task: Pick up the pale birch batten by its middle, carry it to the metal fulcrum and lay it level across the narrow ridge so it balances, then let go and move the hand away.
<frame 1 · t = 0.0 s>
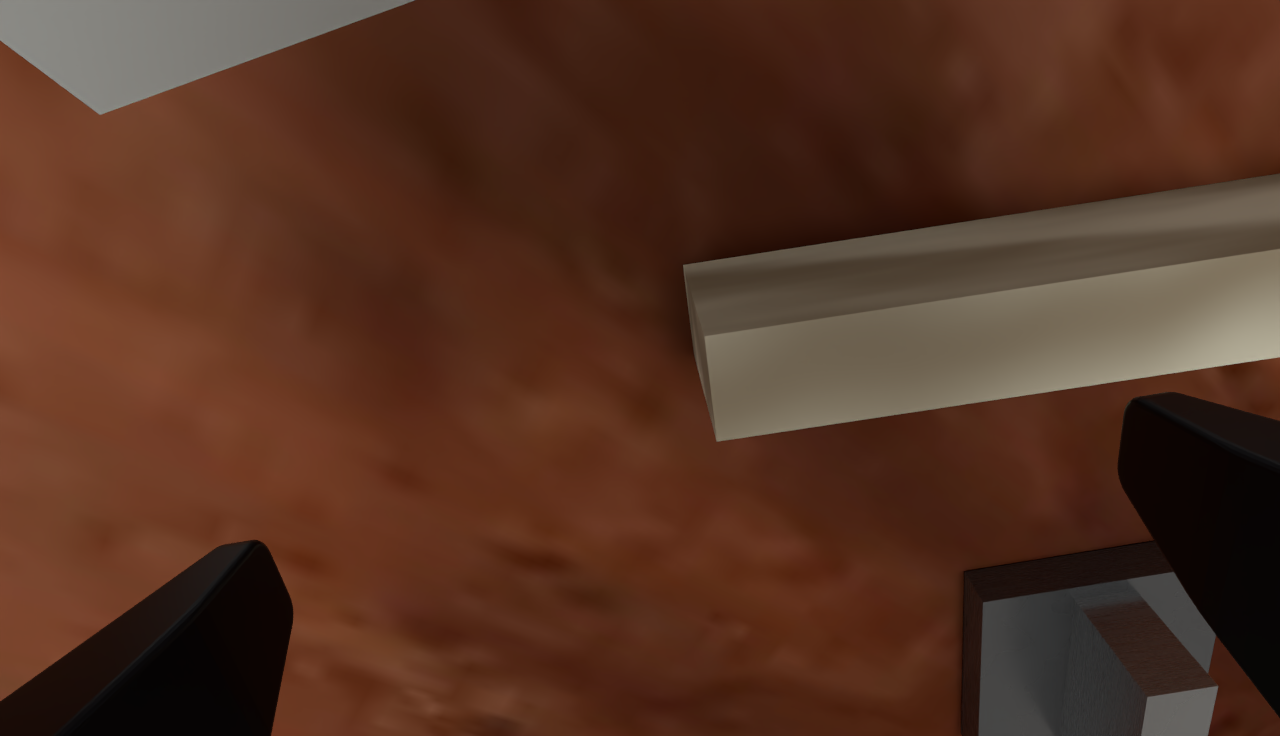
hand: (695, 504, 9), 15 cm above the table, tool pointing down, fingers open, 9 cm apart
fulcrum: (1073, 639, 30), on the table
batten: (1001, 260, 24), on the table
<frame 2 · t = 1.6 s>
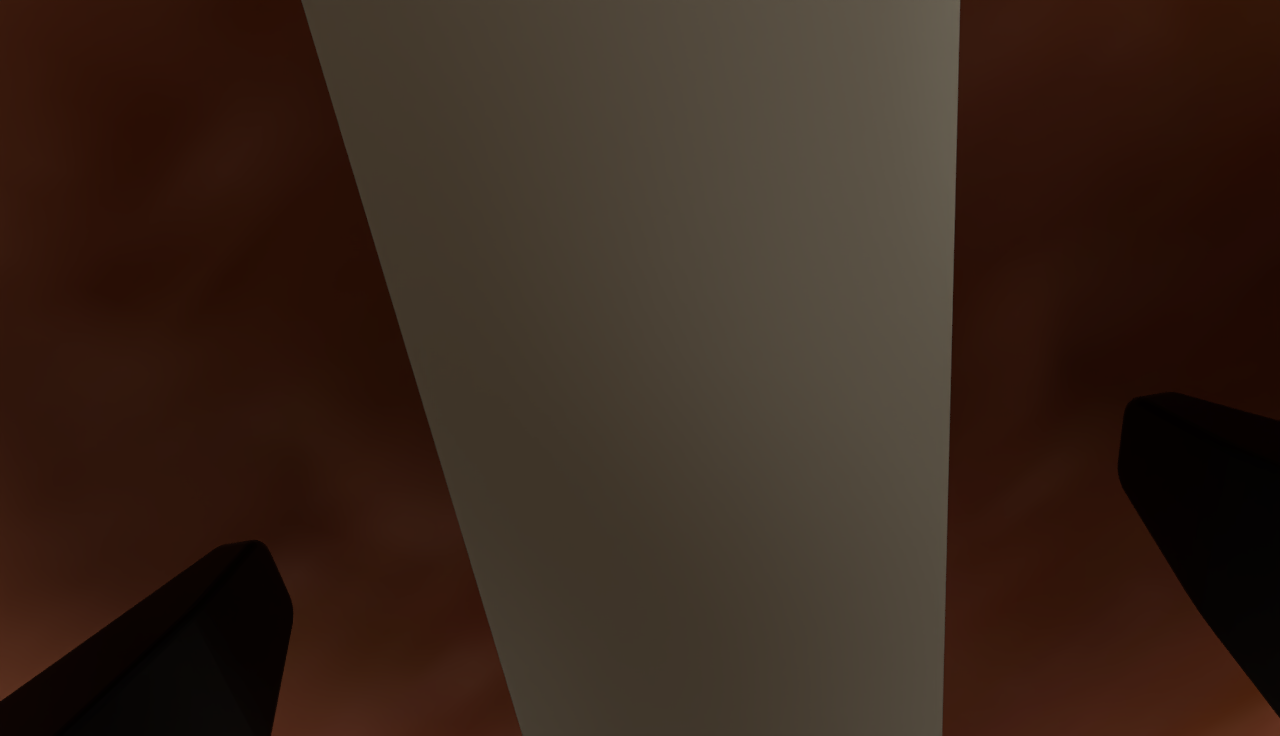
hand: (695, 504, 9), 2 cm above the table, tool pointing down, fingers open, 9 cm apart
batten: (675, 418, 10), on the table
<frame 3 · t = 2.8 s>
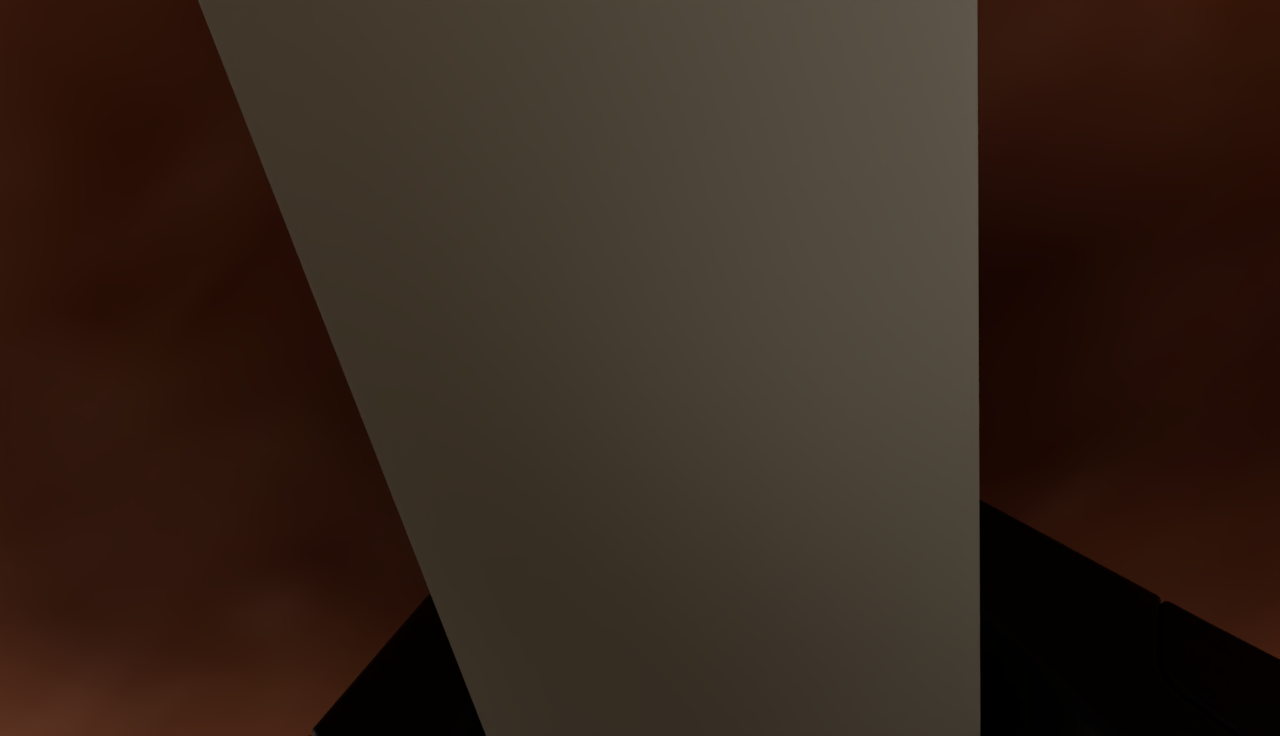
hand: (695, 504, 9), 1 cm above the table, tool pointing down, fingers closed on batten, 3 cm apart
batten: (683, 442, 10), on the table, touching gripper
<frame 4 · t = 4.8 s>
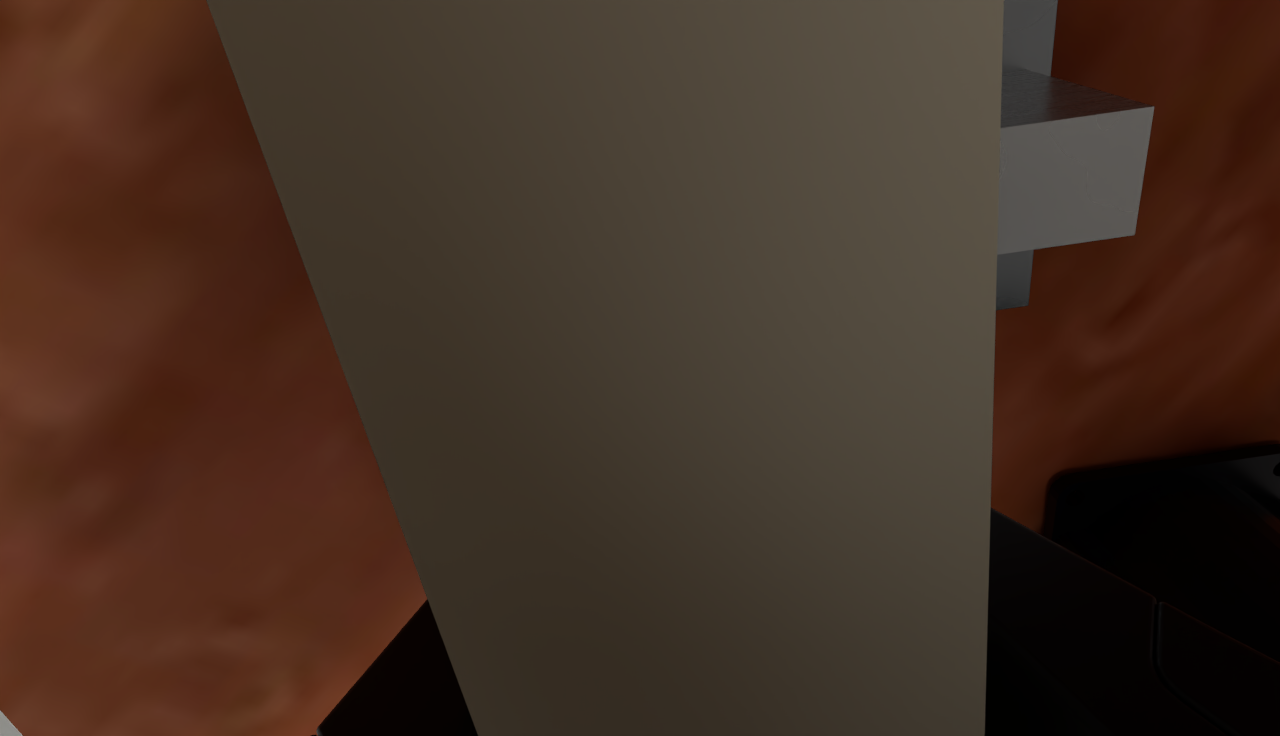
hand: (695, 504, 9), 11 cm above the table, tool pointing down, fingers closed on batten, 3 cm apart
fulcrum: (824, 131, 18), on the table
batten: (680, 445, 10), point 10 cm above the table, touching gripper
when the fingers open (7 cm above the table, at t = 6.3 s): batten stays where it is, resting on fulcrum.
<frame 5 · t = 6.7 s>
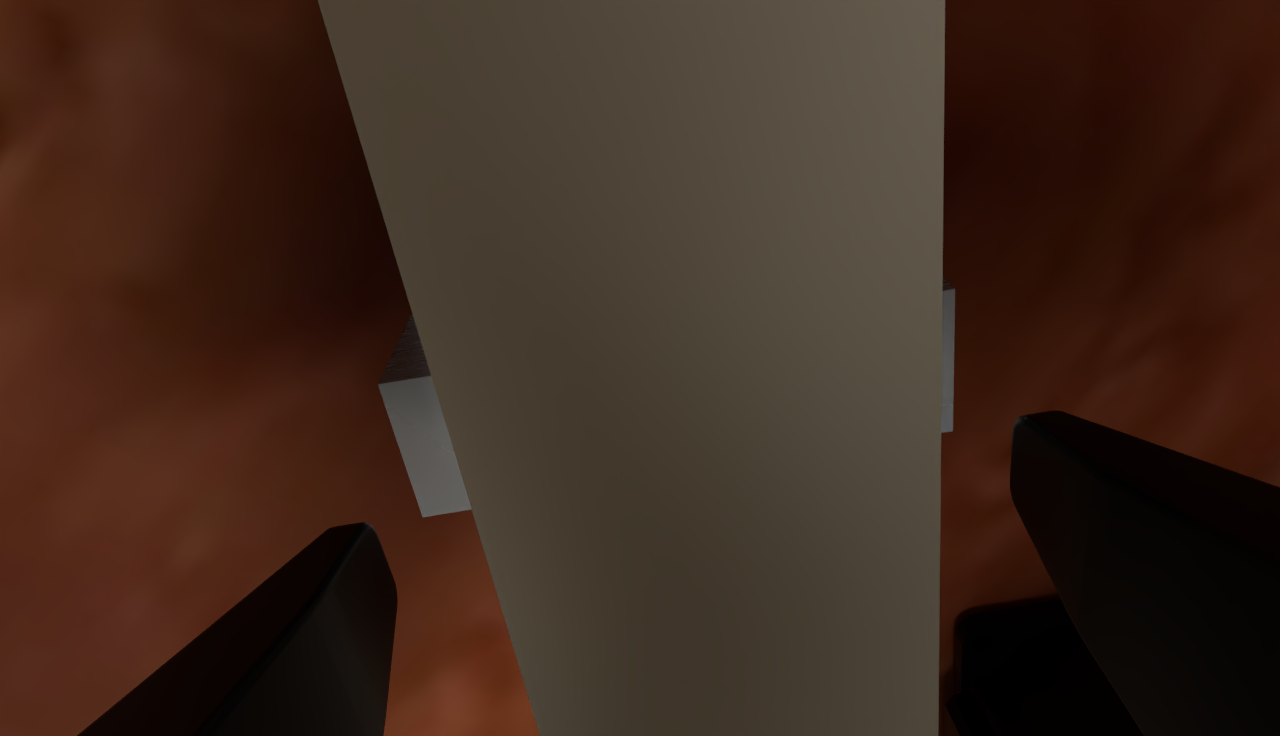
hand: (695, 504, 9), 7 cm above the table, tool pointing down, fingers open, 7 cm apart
fulcrum: (647, 262, 15), on the table
batten: (677, 407, 10), point 5 cm above the table, touching fulcrum
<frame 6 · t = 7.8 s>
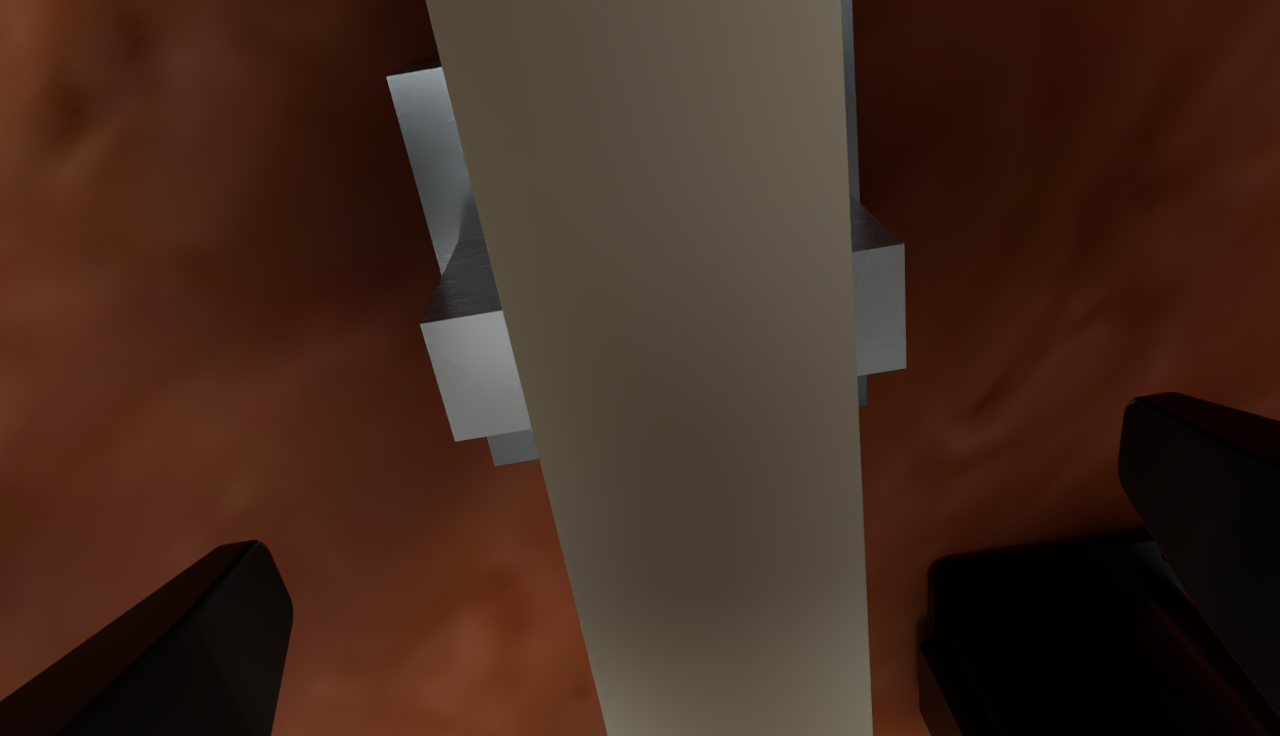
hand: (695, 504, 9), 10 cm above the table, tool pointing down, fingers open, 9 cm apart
fulcrum: (647, 234, 17), on the table
batten: (671, 346, 12), point 5 cm above the table, touching fulcrum
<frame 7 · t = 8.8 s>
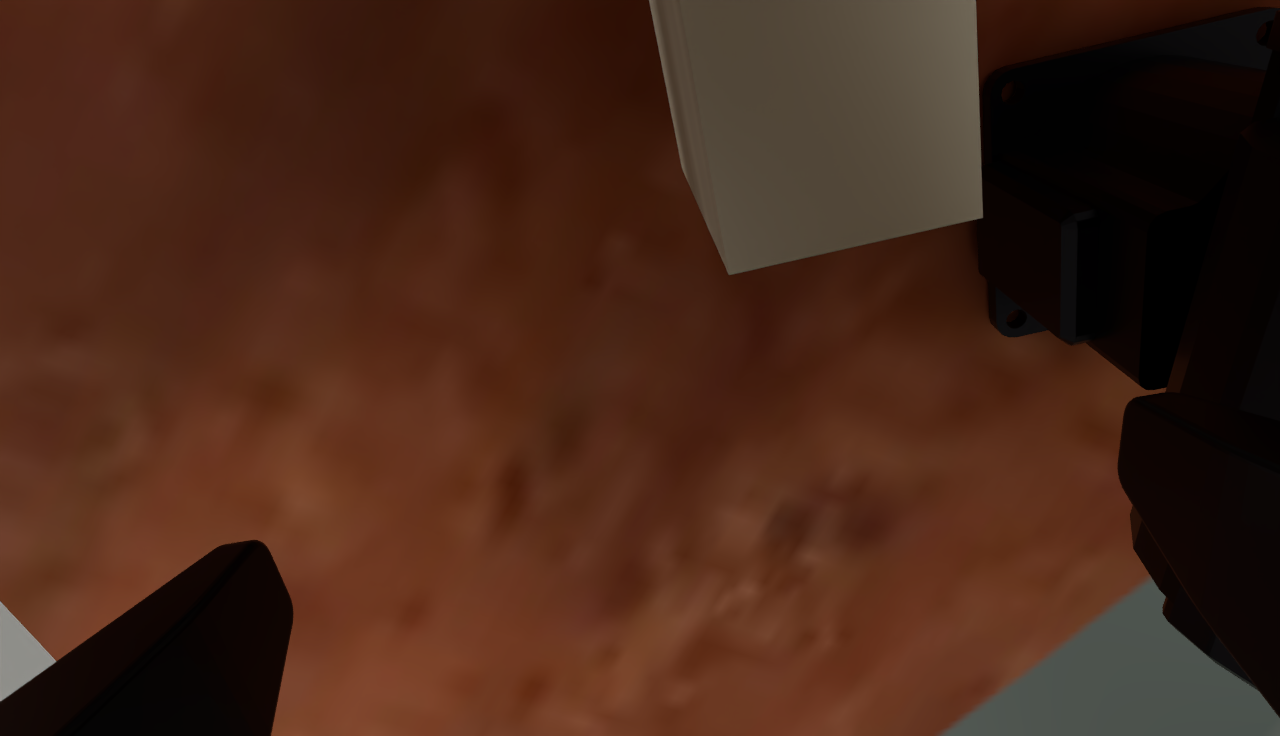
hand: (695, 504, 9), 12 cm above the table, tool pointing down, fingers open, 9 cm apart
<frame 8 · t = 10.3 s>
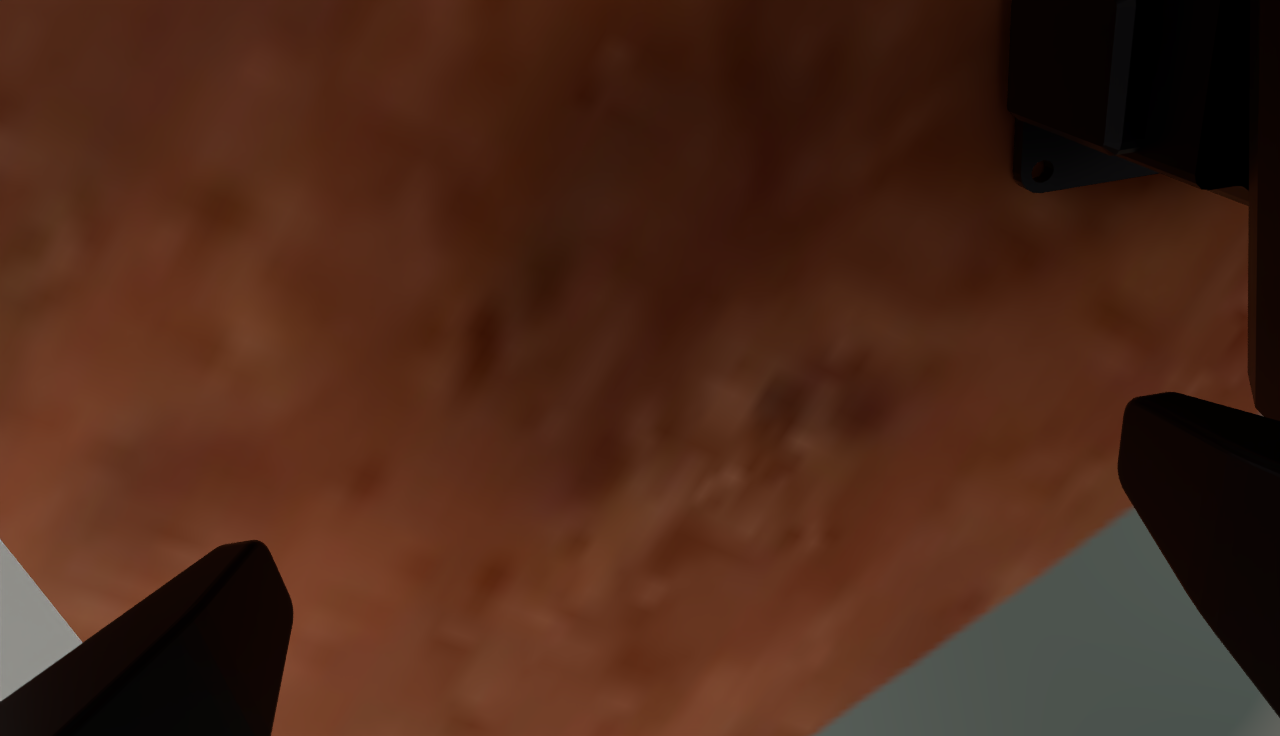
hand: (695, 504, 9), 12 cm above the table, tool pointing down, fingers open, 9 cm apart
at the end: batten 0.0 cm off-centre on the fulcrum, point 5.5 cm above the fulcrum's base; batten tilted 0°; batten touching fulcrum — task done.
